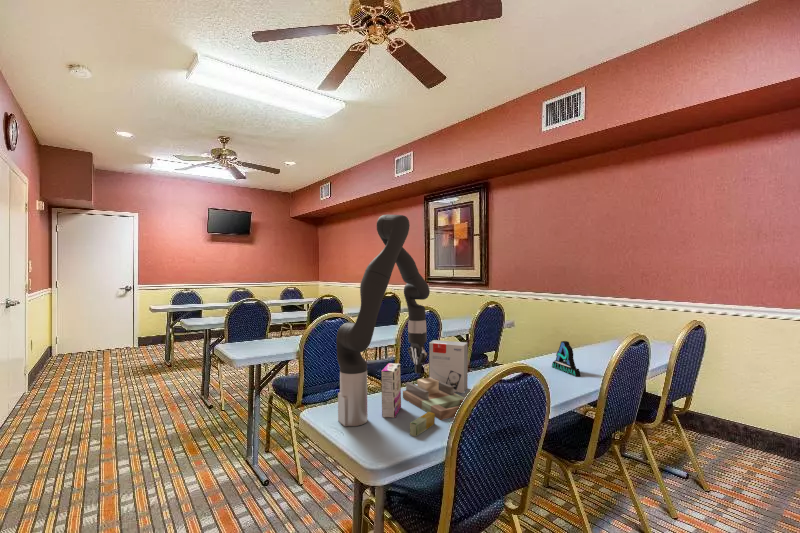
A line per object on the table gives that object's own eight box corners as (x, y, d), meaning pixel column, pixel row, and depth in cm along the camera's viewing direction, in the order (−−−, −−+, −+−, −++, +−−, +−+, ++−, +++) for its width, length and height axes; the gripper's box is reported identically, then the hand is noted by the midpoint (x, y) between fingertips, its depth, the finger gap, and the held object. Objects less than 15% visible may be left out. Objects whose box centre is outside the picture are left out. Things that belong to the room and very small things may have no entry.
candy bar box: (388, 406, 150) (388, 362, 150) (401, 407, 149) (401, 363, 149) (380, 417, 139) (380, 370, 139) (395, 418, 138) (394, 371, 138)
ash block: (425, 395, 154) (425, 383, 154) (417, 390, 159) (417, 379, 159) (438, 392, 157) (438, 381, 157) (430, 388, 162) (430, 377, 162)
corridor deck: (440, 420, 136) (440, 402, 136) (402, 398, 159) (402, 383, 159) (477, 411, 144) (477, 394, 144) (436, 392, 167) (436, 377, 167)
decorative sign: (551, 367, 206) (551, 338, 206) (555, 367, 207) (555, 338, 207) (576, 377, 188) (575, 345, 188) (580, 376, 188) (580, 345, 188)
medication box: (416, 437, 123) (416, 424, 123) (408, 435, 125) (409, 422, 125) (435, 424, 133) (435, 412, 133) (427, 422, 135) (428, 410, 135)
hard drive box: (428, 389, 171) (427, 342, 171) (433, 384, 178) (433, 339, 178) (464, 393, 165) (463, 345, 165) (468, 388, 172) (468, 341, 172)
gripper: (401, 329, 169) (402, 370, 169) (417, 334, 157) (418, 378, 157) (416, 327, 172) (417, 368, 172) (433, 332, 161) (434, 375, 161)
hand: (418, 372), depth 165 cm, fingers closed
